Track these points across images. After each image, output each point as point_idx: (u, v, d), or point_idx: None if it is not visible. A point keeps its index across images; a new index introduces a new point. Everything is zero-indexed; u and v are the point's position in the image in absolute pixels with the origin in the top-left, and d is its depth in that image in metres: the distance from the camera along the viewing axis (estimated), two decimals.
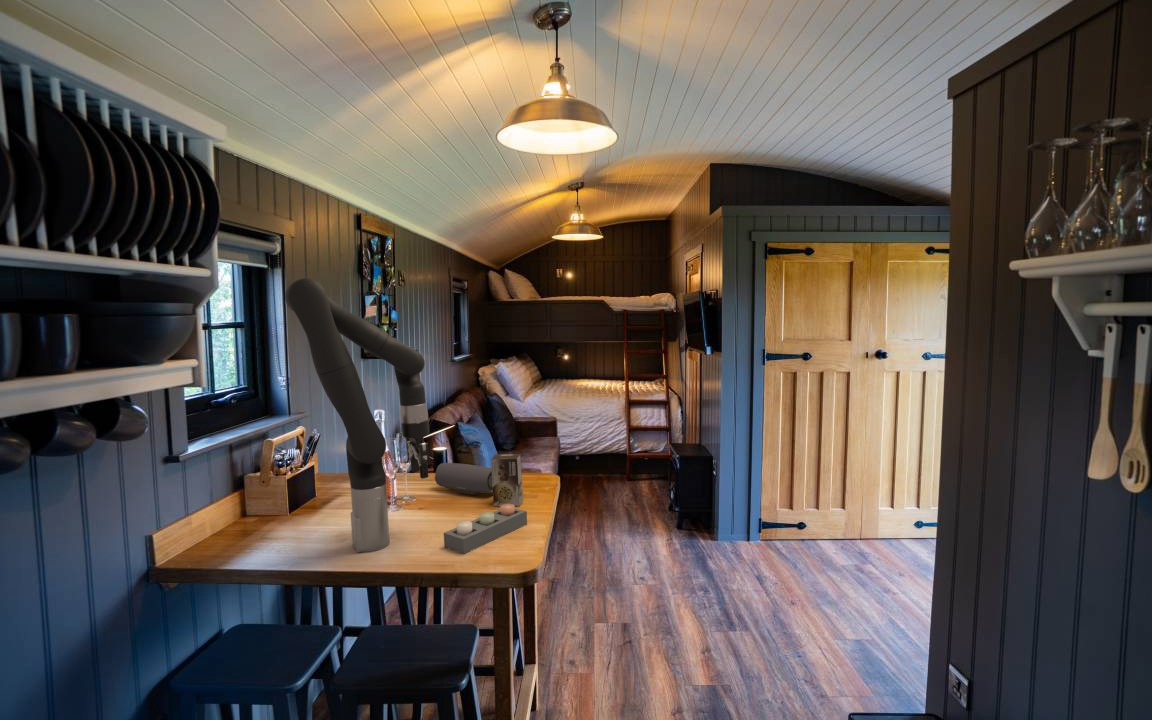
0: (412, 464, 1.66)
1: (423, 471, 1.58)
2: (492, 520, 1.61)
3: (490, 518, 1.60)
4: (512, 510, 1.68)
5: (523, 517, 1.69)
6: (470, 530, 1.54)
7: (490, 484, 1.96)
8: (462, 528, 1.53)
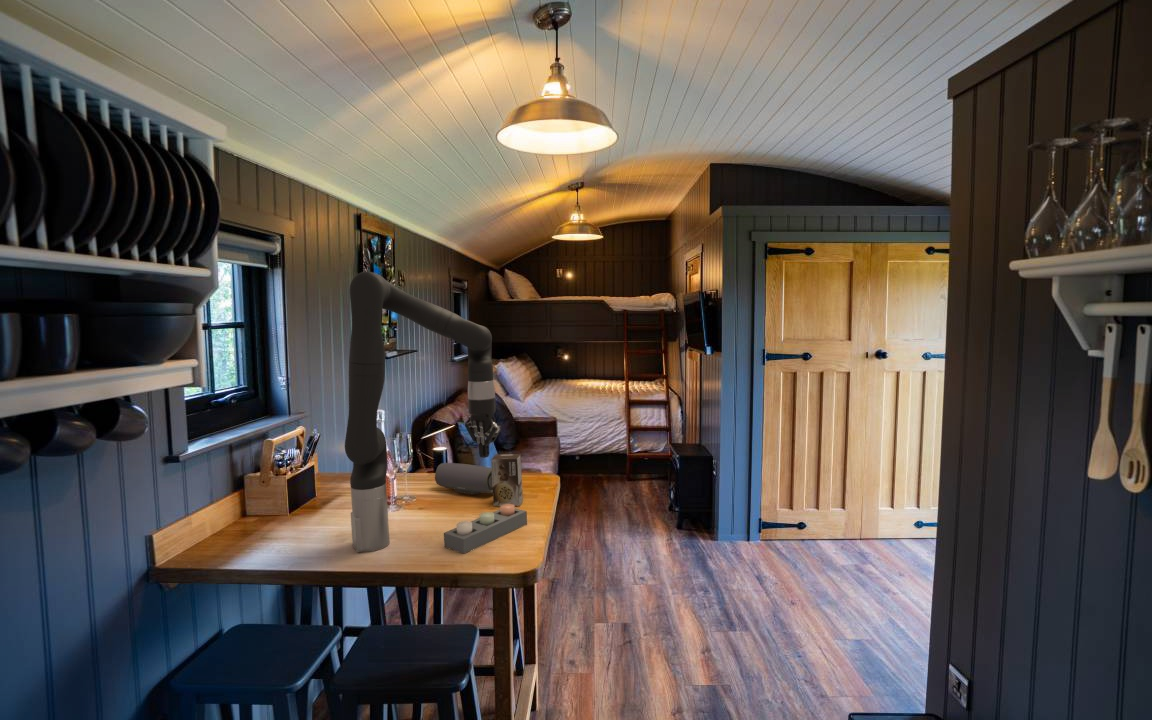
0: None
1: None
2: (492, 520, 1.61)
3: (490, 518, 1.60)
4: (512, 510, 1.68)
5: (523, 517, 1.69)
6: (470, 530, 1.54)
7: (490, 484, 1.96)
8: (462, 528, 1.53)
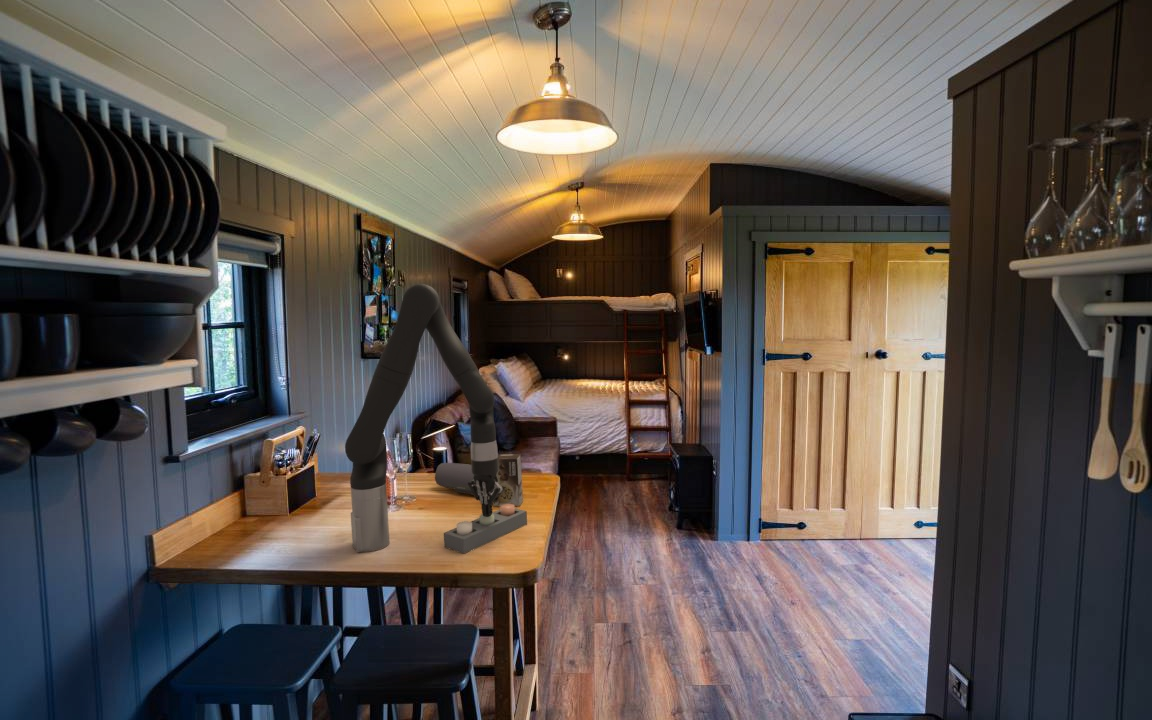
0: None
1: None
2: (492, 521, 1.61)
3: (490, 519, 1.60)
4: (512, 510, 1.68)
5: (523, 517, 1.69)
6: (470, 530, 1.54)
7: None
8: (462, 528, 1.53)
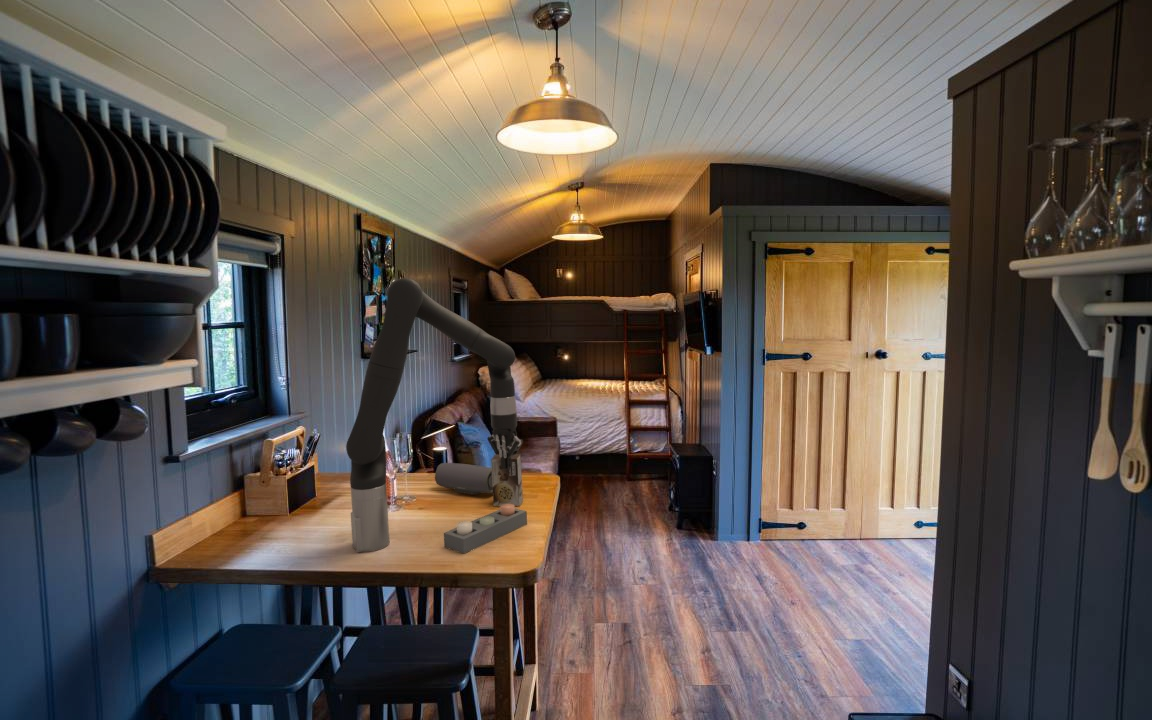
0: None
1: None
2: None
3: (490, 522, 1.60)
4: (512, 510, 1.68)
5: (523, 517, 1.69)
6: (470, 530, 1.54)
7: (490, 484, 1.96)
8: (462, 528, 1.53)
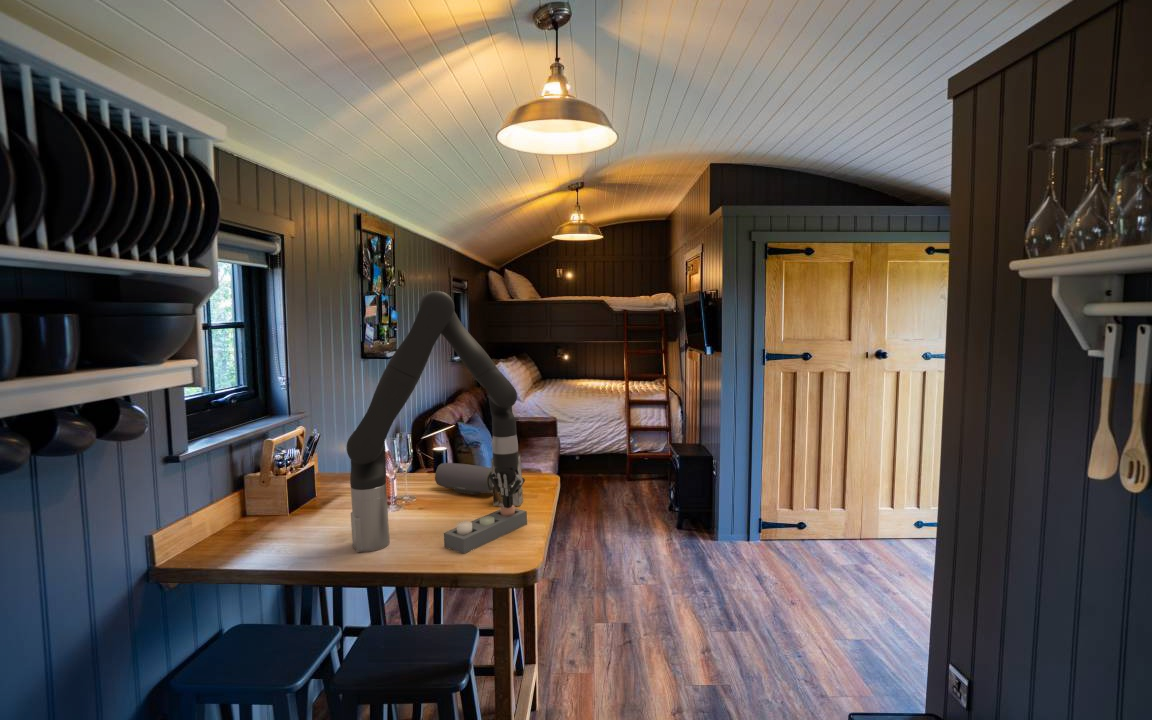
0: None
1: None
2: None
3: (490, 522, 1.60)
4: (512, 511, 1.68)
5: (523, 517, 1.69)
6: (470, 530, 1.54)
7: (490, 484, 1.96)
8: (462, 528, 1.53)
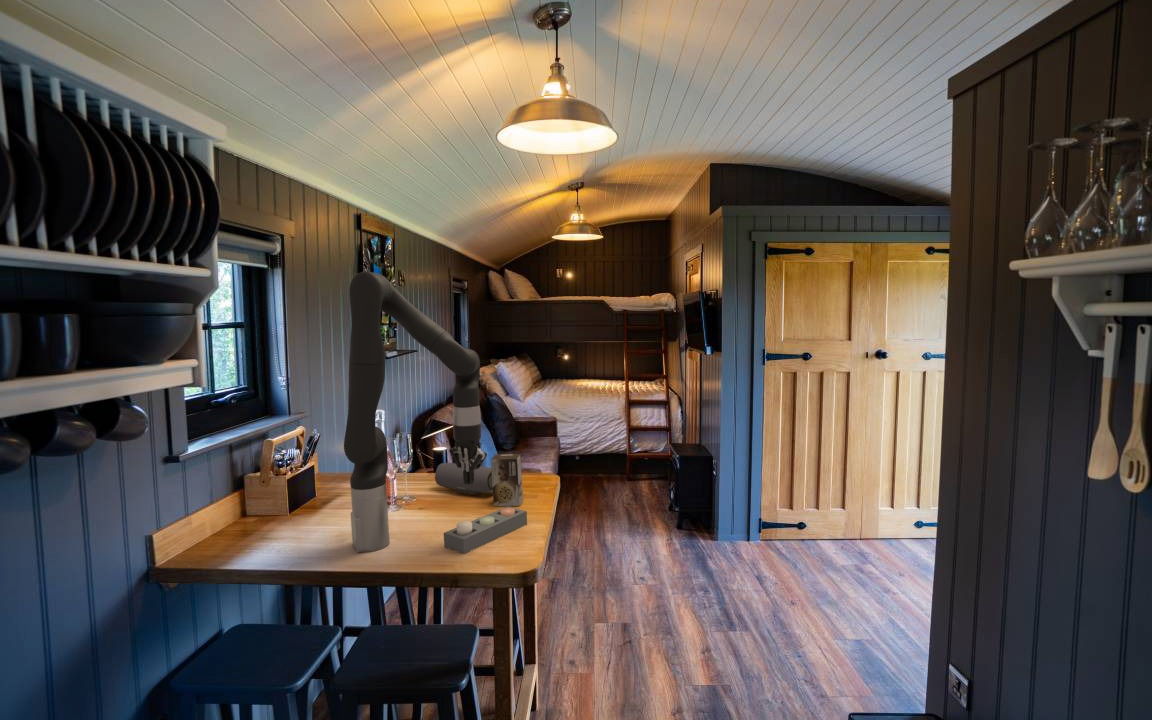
0: None
1: None
2: None
3: (490, 522, 1.60)
4: (512, 514, 1.68)
5: (523, 517, 1.69)
6: (470, 530, 1.54)
7: (490, 484, 1.96)
8: (462, 528, 1.53)
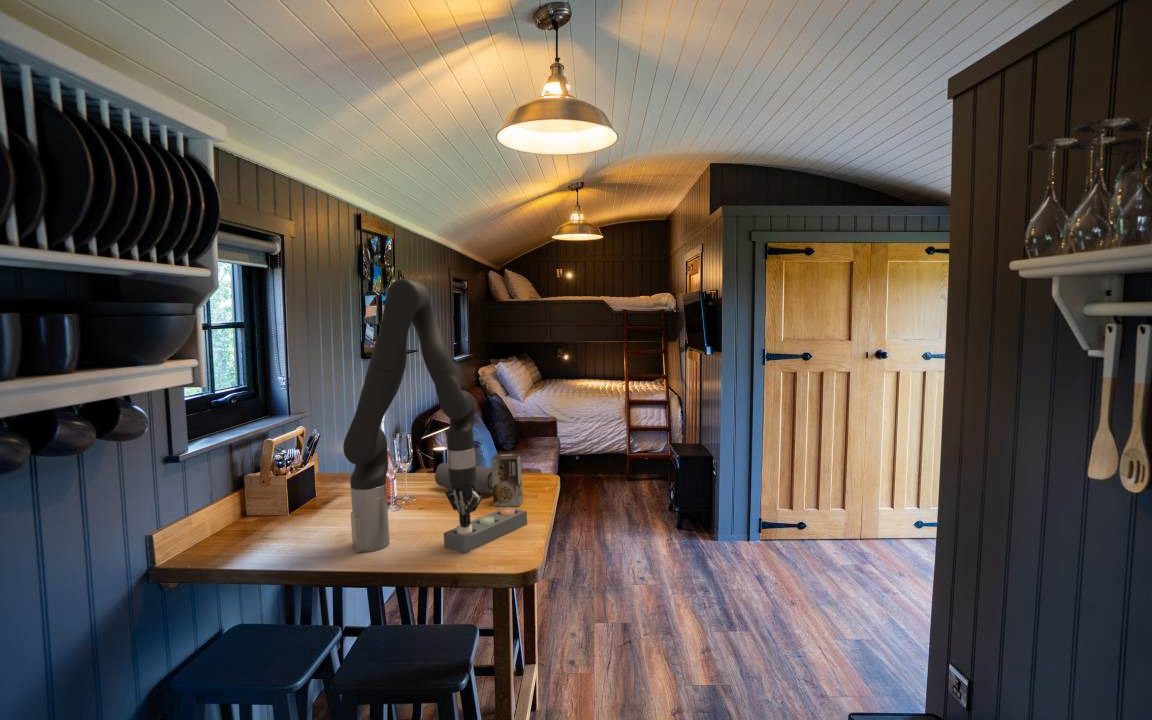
0: None
1: None
2: None
3: (490, 522, 1.60)
4: (512, 514, 1.68)
5: (523, 517, 1.69)
6: (470, 532, 1.54)
7: (490, 484, 1.96)
8: (462, 530, 1.53)
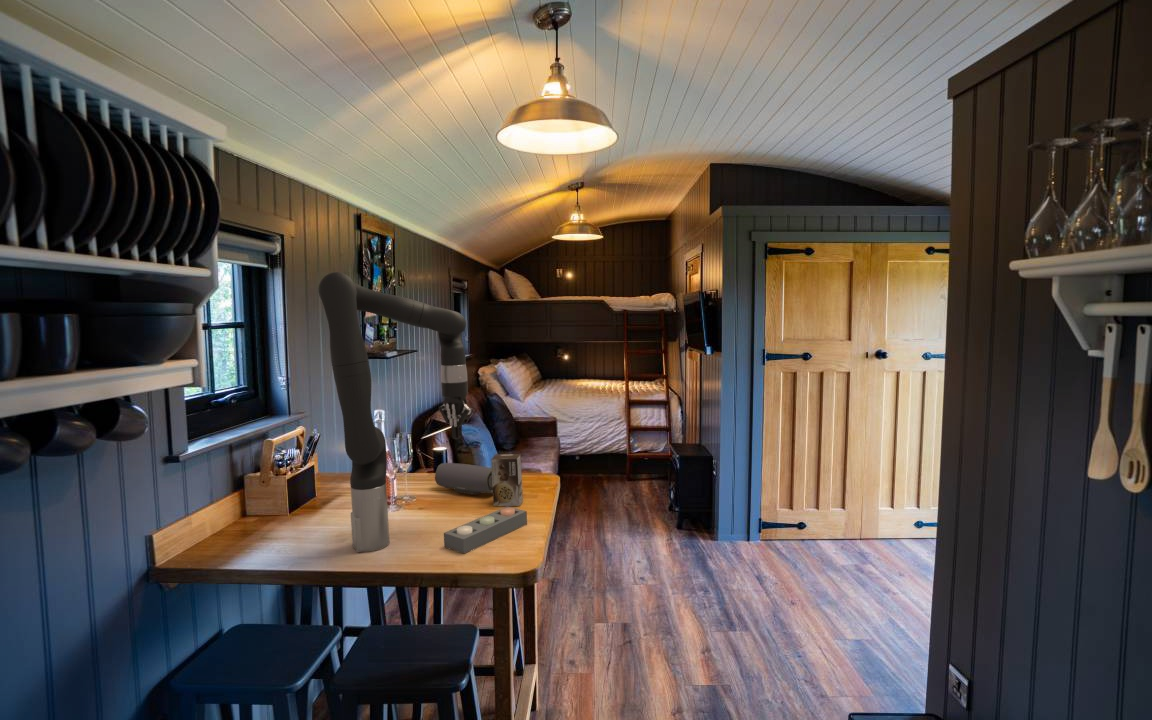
0: None
1: None
2: None
3: (490, 522, 1.60)
4: (512, 514, 1.68)
5: (523, 517, 1.69)
6: None
7: (490, 484, 1.96)
8: (462, 532, 1.53)
